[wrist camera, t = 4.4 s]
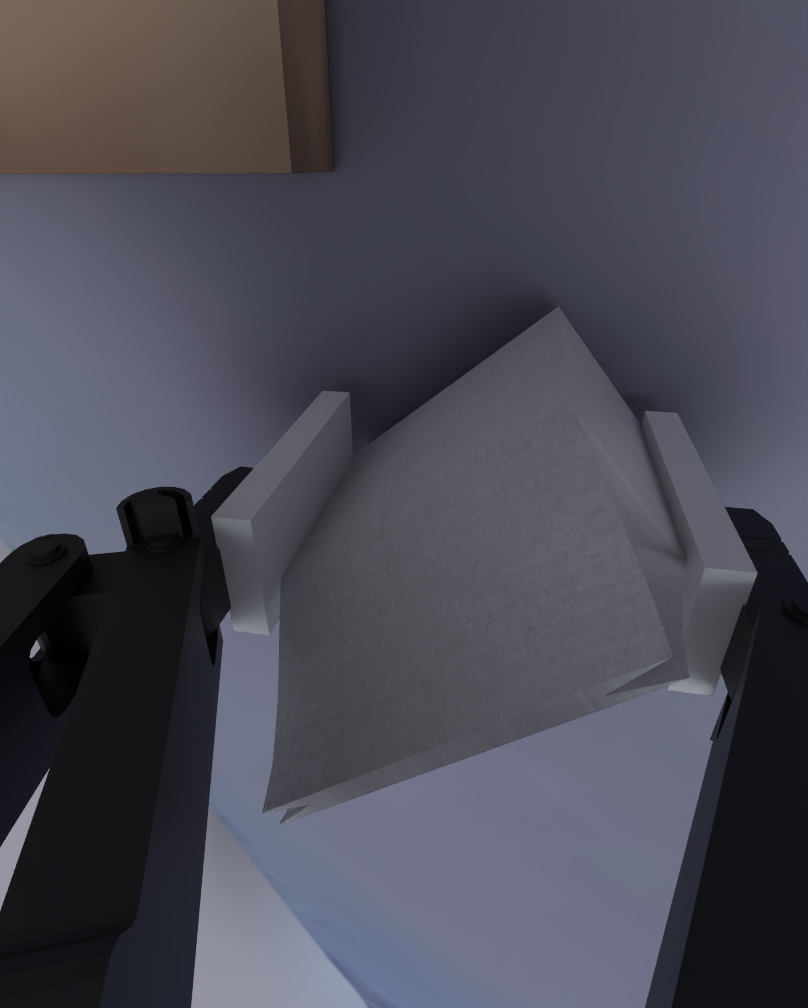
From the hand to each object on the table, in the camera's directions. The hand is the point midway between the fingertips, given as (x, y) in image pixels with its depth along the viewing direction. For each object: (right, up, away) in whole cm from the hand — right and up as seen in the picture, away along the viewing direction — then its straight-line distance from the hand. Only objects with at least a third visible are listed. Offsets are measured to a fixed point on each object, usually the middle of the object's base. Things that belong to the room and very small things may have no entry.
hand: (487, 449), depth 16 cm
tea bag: (0, 0, 0) cm, 1 cm away
